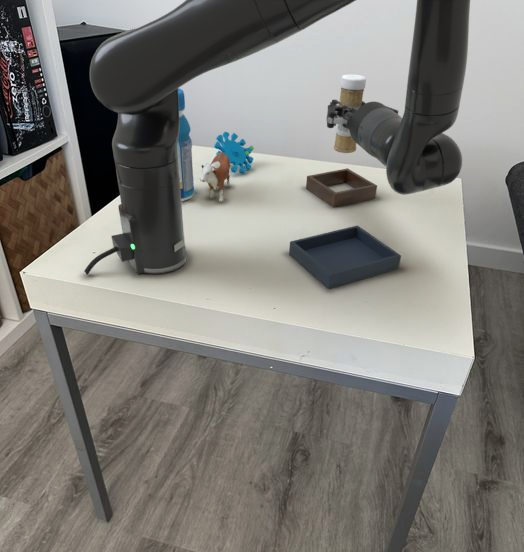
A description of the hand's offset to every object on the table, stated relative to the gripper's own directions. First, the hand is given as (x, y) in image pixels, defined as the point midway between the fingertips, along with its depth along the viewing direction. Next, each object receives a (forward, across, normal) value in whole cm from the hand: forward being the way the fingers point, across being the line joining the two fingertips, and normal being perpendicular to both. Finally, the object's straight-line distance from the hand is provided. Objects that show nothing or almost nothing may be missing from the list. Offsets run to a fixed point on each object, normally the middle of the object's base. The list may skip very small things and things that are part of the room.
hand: (344, 104), depth 102 cm
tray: (-29, +9, +17) cm, 35 cm away
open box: (-2, 0, +17) cm, 17 cm away
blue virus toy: (+15, +19, +17) cm, 30 cm away
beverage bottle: (+3, +34, +18) cm, 38 cm away
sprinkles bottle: (-3, 0, +8) cm, 8 cm away
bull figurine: (+1, +25, +18) cm, 31 cm away
